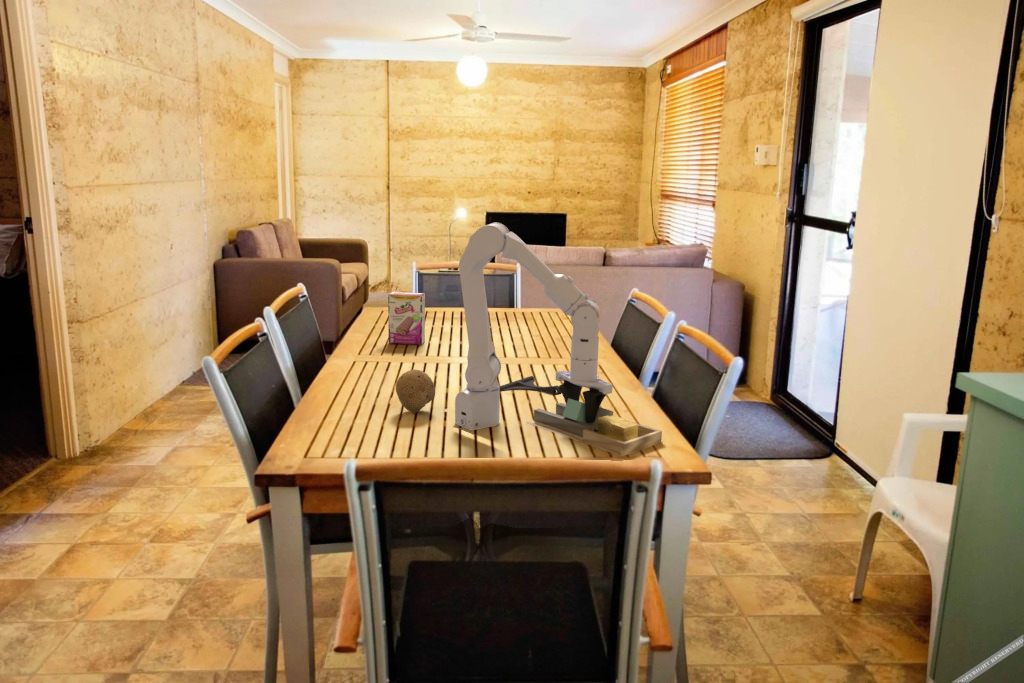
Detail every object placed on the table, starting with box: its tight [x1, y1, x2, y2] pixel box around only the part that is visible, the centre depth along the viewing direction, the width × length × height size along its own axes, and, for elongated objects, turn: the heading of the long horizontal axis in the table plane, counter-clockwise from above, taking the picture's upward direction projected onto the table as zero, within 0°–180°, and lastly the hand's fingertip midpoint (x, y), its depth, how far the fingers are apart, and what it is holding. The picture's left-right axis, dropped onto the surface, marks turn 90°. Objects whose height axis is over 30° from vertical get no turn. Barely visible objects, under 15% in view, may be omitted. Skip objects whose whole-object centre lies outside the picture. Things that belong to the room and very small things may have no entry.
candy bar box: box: [387, 291, 426, 346], centre depth 249 cm, size 11×5×16 cm, turn 84°
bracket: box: [500, 375, 562, 396], centre depth 200 cm, size 14×15×3 cm
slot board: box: [526, 402, 663, 457], centre depth 164 cm, size 13×27×4 cm, turn 43°
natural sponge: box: [395, 368, 436, 414], centre depth 178 cm, size 9×9×10 cm
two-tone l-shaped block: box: [562, 398, 614, 430], centre depth 165 cm, size 5×8×6 cm
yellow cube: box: [610, 419, 638, 442], centre depth 158 cm, size 4×4×4 cm
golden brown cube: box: [597, 414, 626, 437], centre depth 161 cm, size 4×4×4 cm
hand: (581, 419), depth 166 cm, fingers closed on two-tone l-shaped block, 4 cm apart
